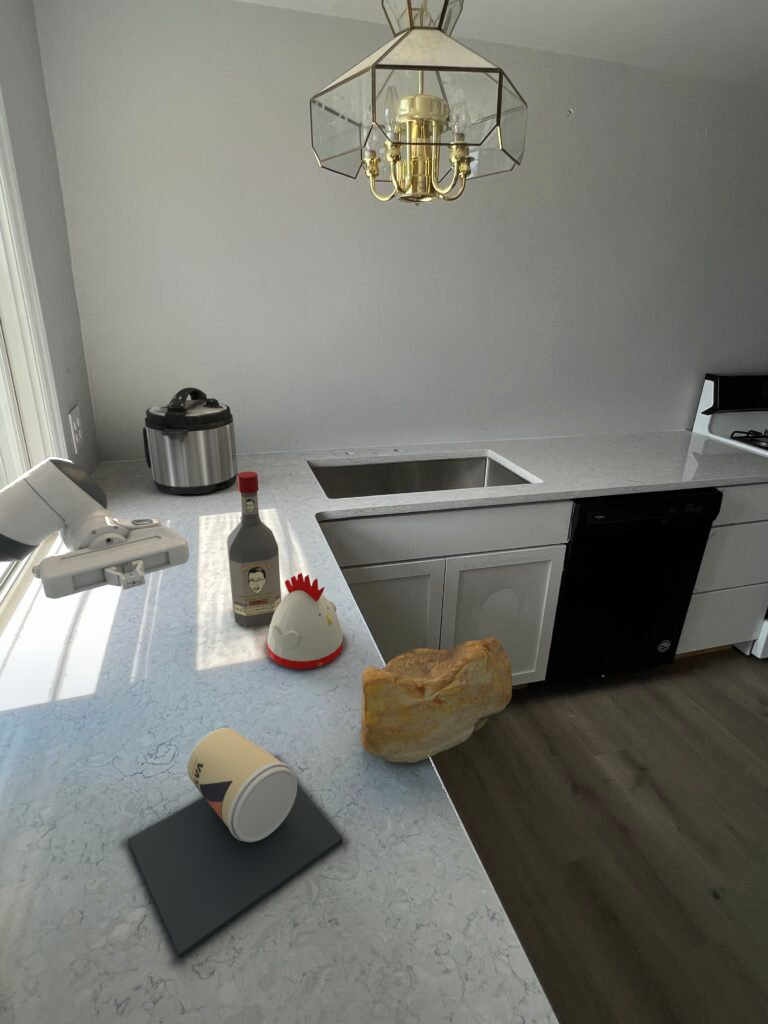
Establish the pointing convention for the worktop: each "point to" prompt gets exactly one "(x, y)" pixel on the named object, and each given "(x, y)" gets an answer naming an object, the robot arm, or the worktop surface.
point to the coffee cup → (242, 783)
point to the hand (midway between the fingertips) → (134, 582)
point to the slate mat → (223, 865)
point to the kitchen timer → (304, 627)
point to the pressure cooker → (190, 444)
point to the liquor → (253, 561)
